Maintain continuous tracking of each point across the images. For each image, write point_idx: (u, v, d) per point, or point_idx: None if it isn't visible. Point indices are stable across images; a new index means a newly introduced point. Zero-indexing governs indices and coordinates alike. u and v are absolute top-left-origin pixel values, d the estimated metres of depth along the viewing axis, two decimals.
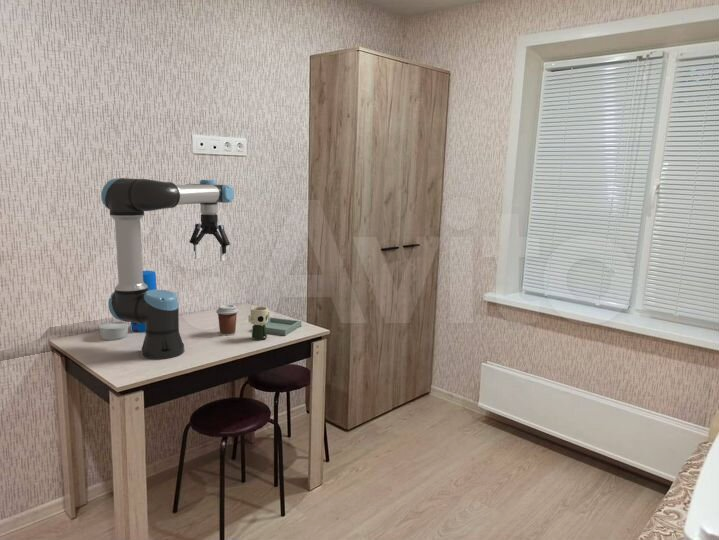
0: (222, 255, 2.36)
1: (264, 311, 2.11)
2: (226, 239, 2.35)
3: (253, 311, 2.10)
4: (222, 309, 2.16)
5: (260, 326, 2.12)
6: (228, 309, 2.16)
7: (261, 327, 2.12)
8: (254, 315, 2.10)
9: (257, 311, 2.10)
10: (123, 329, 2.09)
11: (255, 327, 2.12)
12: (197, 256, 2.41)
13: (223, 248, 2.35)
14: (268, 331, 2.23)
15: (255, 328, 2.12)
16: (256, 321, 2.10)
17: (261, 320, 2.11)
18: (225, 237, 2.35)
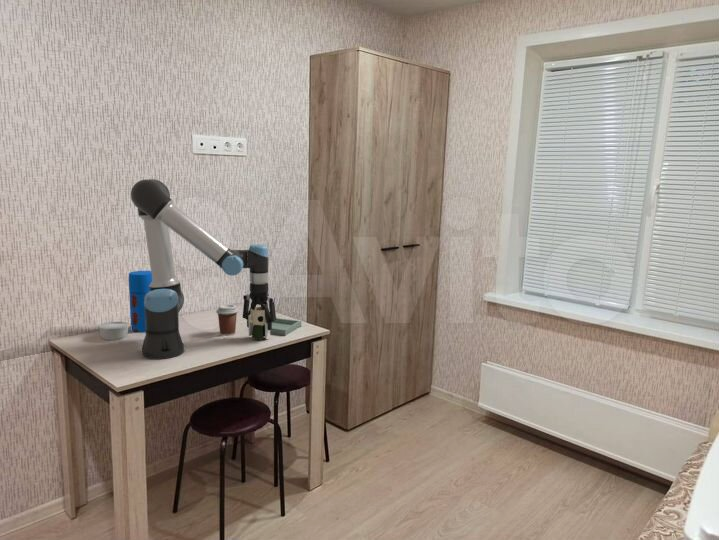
0: (267, 331, 2.13)
1: (264, 311, 2.11)
2: (274, 314, 2.11)
3: (253, 311, 2.10)
4: (222, 309, 2.16)
5: (260, 326, 2.12)
6: (228, 309, 2.16)
7: (261, 327, 2.12)
8: (254, 315, 2.10)
9: (257, 311, 2.10)
10: (123, 329, 2.09)
11: (255, 327, 2.12)
12: (251, 333, 2.15)
13: (269, 324, 2.12)
14: None
15: (255, 328, 2.12)
16: (256, 321, 2.10)
17: (261, 320, 2.11)
18: (273, 312, 2.11)
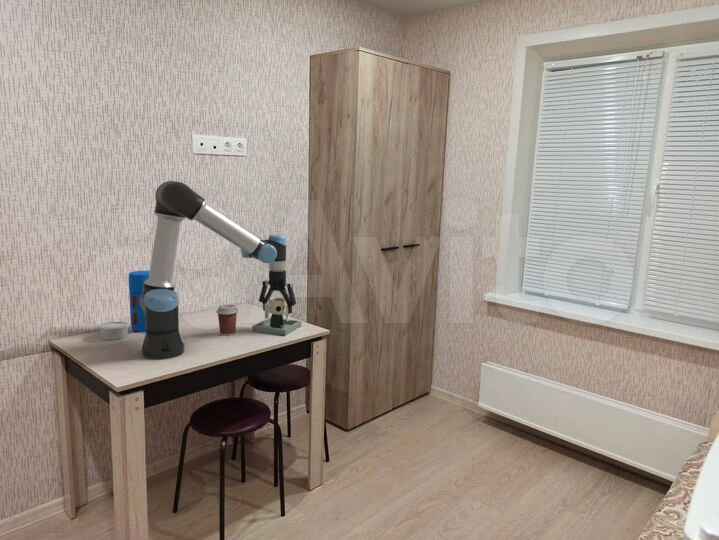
0: (288, 315, 2.27)
1: (282, 301, 2.26)
2: (293, 299, 2.25)
3: (271, 301, 2.25)
4: (222, 309, 2.16)
5: (278, 315, 2.27)
6: (228, 309, 2.16)
7: (279, 316, 2.27)
8: (272, 305, 2.25)
9: (275, 301, 2.25)
10: (123, 329, 2.09)
11: (273, 316, 2.27)
12: (267, 315, 2.30)
13: (289, 308, 2.26)
14: (268, 331, 2.23)
15: (273, 317, 2.27)
16: (274, 311, 2.25)
17: (279, 310, 2.26)
18: (292, 296, 2.25)
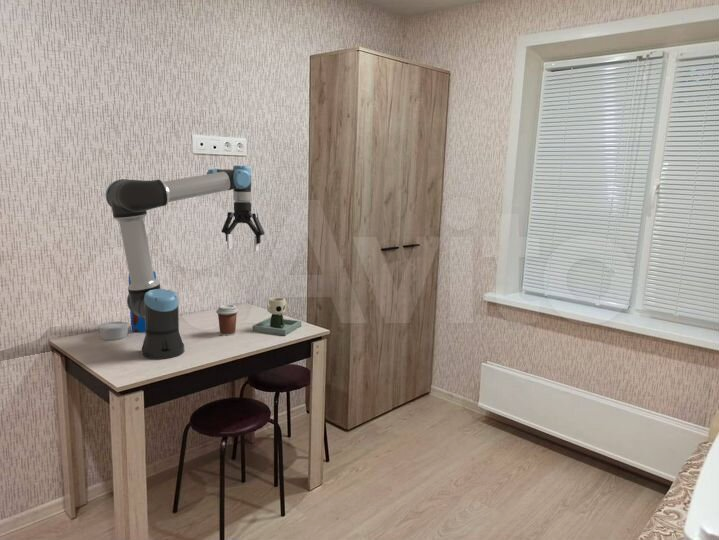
0: (256, 245, 2.24)
1: (282, 301, 2.26)
2: (260, 228, 2.23)
3: (272, 301, 2.25)
4: (222, 309, 2.16)
5: (278, 315, 2.27)
6: (228, 309, 2.16)
7: (279, 316, 2.27)
8: (273, 305, 2.25)
9: (275, 301, 2.25)
10: (123, 329, 2.09)
11: (273, 316, 2.27)
12: (229, 246, 2.29)
13: (257, 238, 2.23)
14: (268, 331, 2.23)
15: (273, 317, 2.27)
16: (274, 311, 2.25)
17: (279, 310, 2.26)
18: (259, 226, 2.23)
